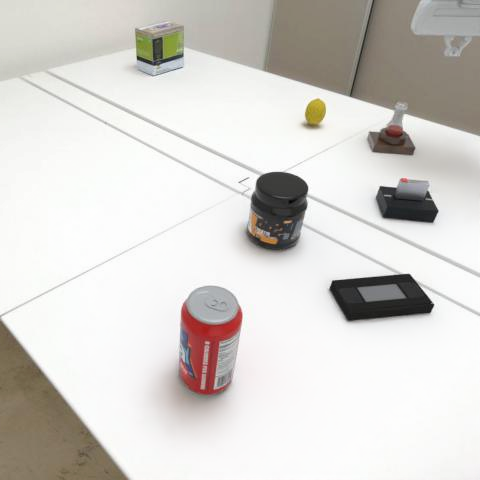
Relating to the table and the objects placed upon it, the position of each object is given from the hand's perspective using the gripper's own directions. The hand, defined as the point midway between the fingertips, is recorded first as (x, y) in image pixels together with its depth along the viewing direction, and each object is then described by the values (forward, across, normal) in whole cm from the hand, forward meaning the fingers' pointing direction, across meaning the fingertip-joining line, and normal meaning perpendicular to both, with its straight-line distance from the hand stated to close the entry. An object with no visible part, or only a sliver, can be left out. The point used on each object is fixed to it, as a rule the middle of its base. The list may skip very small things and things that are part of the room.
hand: (451, 55), depth 104 cm
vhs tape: (+24, +20, +57) cm, 65 cm away
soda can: (+24, +48, +77) cm, 94 cm away
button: (+20, +6, -2) cm, 21 cm away
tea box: (+22, +78, -53) cm, 96 cm away
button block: (+24, +6, -2) cm, 25 cm away
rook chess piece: (+24, +4, -12) cm, 27 cm away
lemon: (+24, +26, -12) cm, 37 cm away
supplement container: (+24, +38, +42) cm, 61 cm away
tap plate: (+24, +10, +28) cm, 38 cm away
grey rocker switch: (+21, +9, +28) cm, 36 cm away
